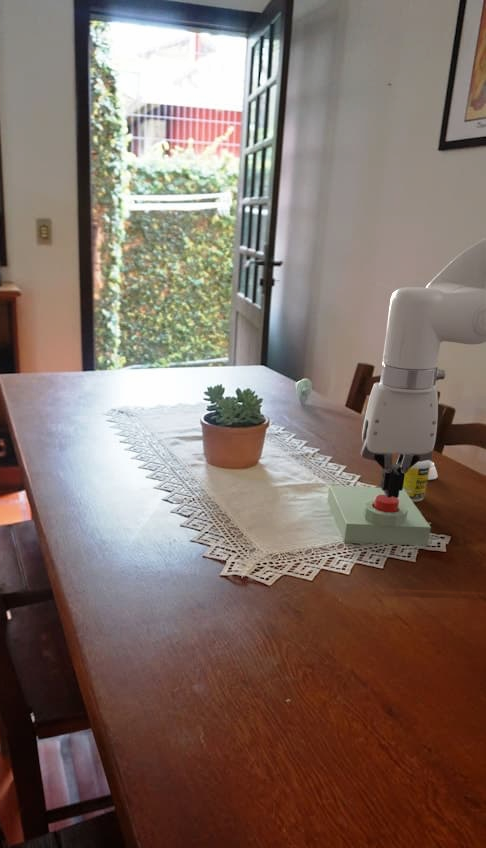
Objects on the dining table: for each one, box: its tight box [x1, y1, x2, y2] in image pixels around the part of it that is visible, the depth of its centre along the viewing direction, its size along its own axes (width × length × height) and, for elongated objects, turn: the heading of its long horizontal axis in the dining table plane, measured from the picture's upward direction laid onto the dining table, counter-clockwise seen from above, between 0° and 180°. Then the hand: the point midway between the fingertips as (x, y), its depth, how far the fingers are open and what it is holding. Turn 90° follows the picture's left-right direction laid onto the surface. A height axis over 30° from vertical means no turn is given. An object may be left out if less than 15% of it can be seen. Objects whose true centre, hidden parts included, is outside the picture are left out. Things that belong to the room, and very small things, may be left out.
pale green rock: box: [294, 378, 314, 404], centre depth 182 cm, size 8×4×7 cm, turn 14°
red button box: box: [327, 484, 432, 546], centre depth 112 cm, size 13×16×5 cm
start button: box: [374, 495, 399, 513], centre depth 106 cm, size 4×4×2 cm
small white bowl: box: [427, 460, 439, 481], centre depth 134 cm, size 5×3×5 cm
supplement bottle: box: [403, 459, 431, 503], centre depth 122 cm, size 5×5×10 cm
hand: (390, 494), depth 106 cm, fingers closed
